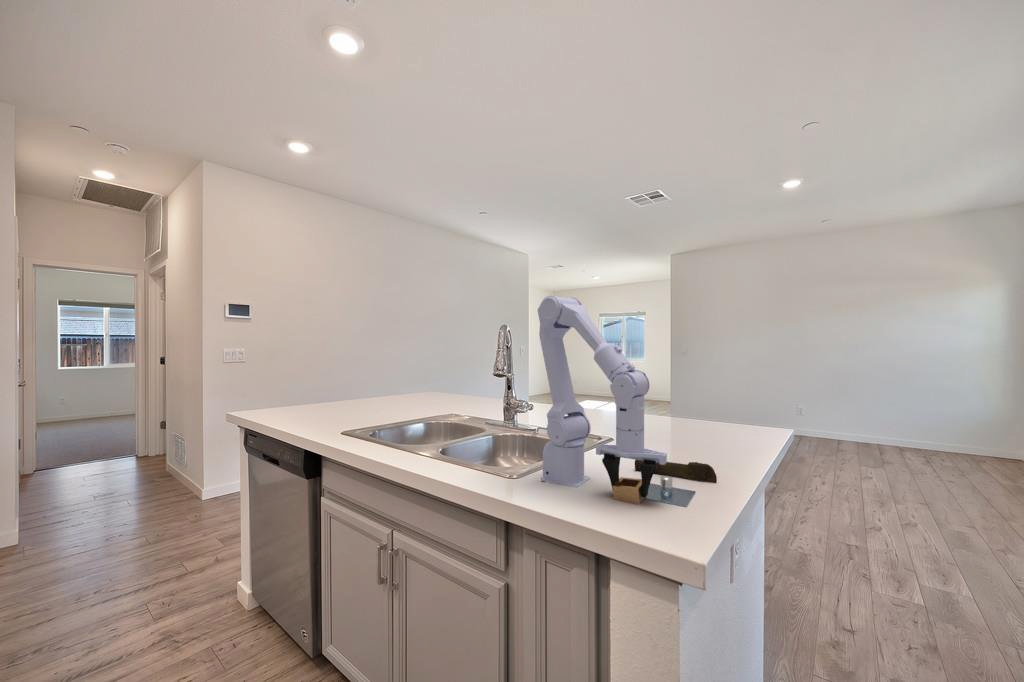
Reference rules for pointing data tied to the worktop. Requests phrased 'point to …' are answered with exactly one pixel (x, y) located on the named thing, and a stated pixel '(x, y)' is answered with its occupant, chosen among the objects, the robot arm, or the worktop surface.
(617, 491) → the square wooden frame
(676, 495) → the piston plate
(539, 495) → the worktop surface
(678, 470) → the dark brown long piece
